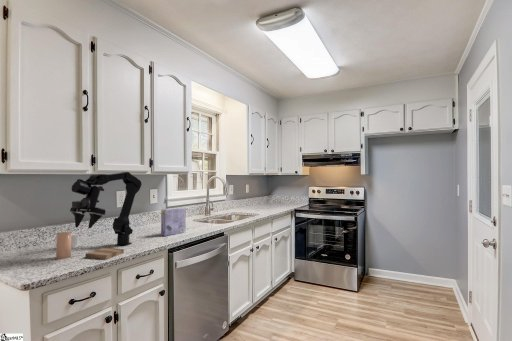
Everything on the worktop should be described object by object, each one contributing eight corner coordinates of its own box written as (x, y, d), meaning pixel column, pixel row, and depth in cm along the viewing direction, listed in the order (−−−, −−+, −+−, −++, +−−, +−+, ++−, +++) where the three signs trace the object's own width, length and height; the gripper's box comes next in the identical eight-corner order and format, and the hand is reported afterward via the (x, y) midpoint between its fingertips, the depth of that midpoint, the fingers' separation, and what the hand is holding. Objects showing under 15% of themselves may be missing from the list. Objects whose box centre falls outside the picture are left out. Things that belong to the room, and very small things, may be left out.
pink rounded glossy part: (64, 255, 144) (64, 231, 144) (73, 256, 142) (74, 231, 143) (53, 258, 138) (53, 233, 138) (63, 259, 137) (63, 234, 137)
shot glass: (65, 249, 156) (65, 236, 156) (64, 246, 162) (64, 234, 162) (79, 247, 160) (79, 234, 160) (78, 245, 166) (78, 232, 166)
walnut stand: (104, 251, 151) (104, 247, 151) (123, 253, 148) (123, 249, 148) (85, 257, 139) (85, 253, 139) (106, 259, 137) (106, 255, 137)
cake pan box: (182, 231, 208) (182, 207, 209) (187, 232, 205) (187, 207, 206) (160, 235, 192) (160, 209, 193) (165, 236, 189) (165, 209, 190)
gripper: (65, 193, 145) (54, 223, 140) (91, 193, 138) (81, 226, 133) (84, 198, 155) (75, 227, 150) (110, 199, 148) (101, 229, 143)
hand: (82, 227), depth 144 cm, fingers open, 9 cm apart
